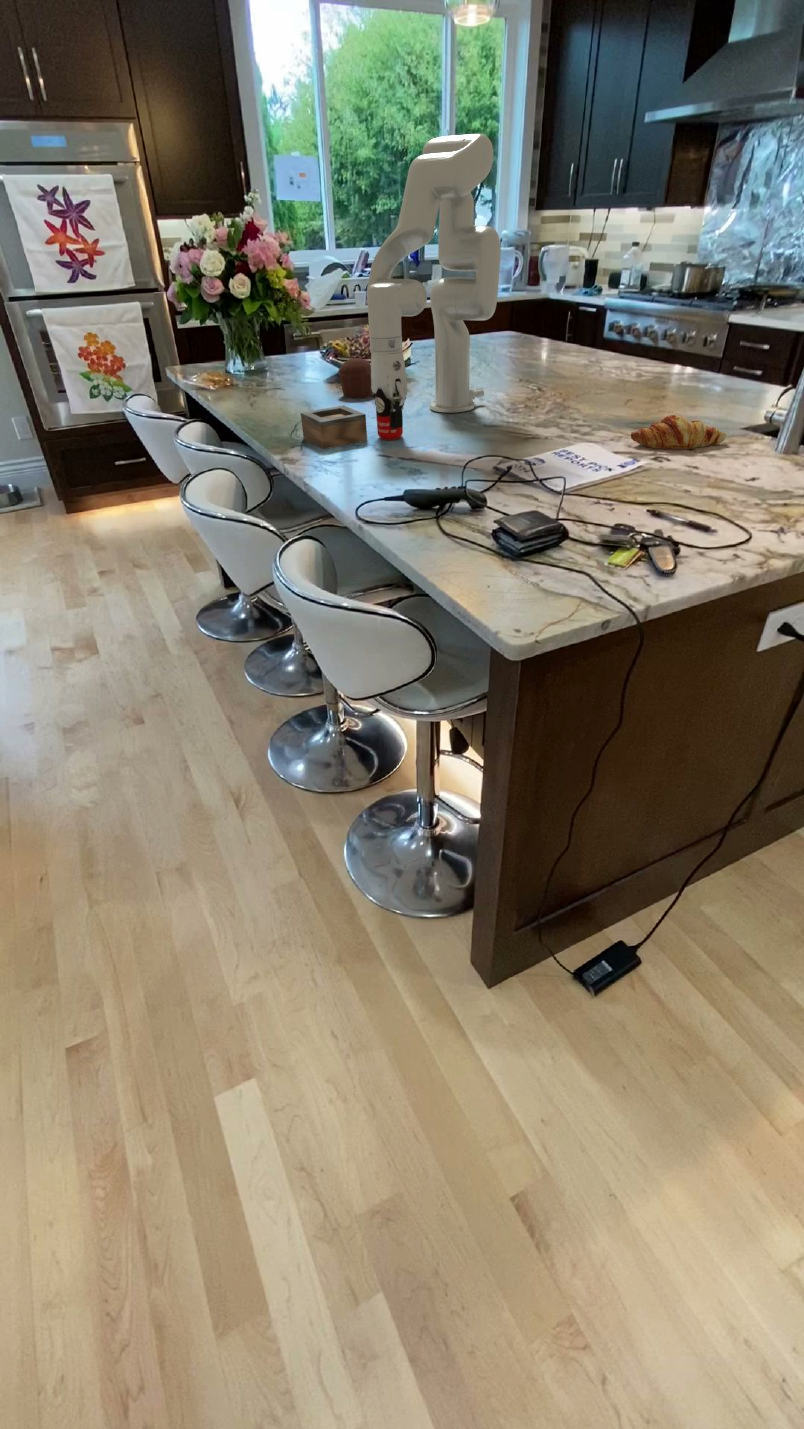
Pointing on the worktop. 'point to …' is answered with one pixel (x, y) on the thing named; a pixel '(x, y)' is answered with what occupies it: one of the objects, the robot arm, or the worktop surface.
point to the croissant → (678, 434)
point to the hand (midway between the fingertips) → (389, 424)
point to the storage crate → (334, 426)
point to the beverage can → (385, 417)
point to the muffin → (356, 378)
